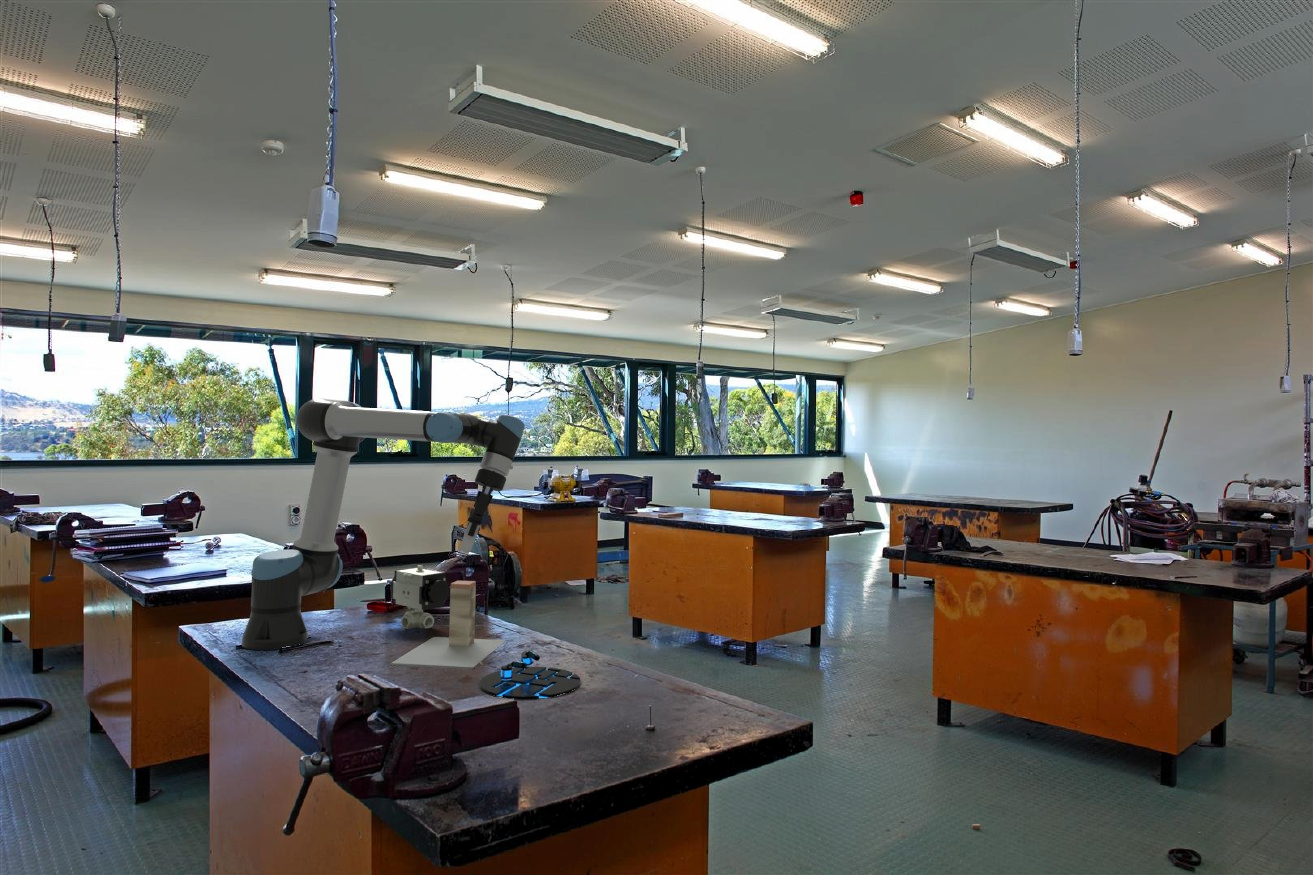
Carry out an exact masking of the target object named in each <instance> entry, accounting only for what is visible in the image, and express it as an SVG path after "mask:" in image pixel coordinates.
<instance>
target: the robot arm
mask: <svg viewBox="0 0 1313 875" xmlns="http://www.w3.org/2000/svg"><path fill="white" fill-rule="evenodd" d="M295 421H296V426H297V430H298V431H299V432H300V434H302V436H304V437H305V438H306V439H308V440H309V441H311V442H312V441H313V442H312V447H314V450H316V458H315V462H314V467H313V472H312V473H313V474H312V479H311V483H310V488H309V489H310V490H309V493H308V499H307V503H306V509H305V515H304V518H303V523H302V529H301V534H300V537H299V538H298V539H295V540H294V541H293V543H292V544H293V545H292V549H278V550H271V551H268V552H267V551H266V552H263V553H261V554H259V555H257V556H256V557H255V558H254V559H253V562H252V567H251V568H252V569H251V573H250V574H251V589H250V590H251V591H250V592H251V595H250V614H249V619H248V621H247V624H246V626H245V628H244V632H243V634H242V638H241V647H242V648H243V649H245V650H246V649H247V650H253V651H272V650H274V651H275V650H281V649H280V648H282V647H286V646H294V647H296V646H295V645H298V646H300V645H299V644H301V645H303V644H305V643H307V642H308V630H307V627H306V625H305V621H304V617H303V615H302V610H301V609H302V597H305V596H308V595H312V594H317V593H321V592H323V591H326V590H327V589H330V588H332V587H333V586H334V585H336V584H337V582H338V581H339V579H340V578H341V576H342V573H343V568H344V567H343V559H341V555H340V554H339V553H338V552H339V545H338V544H337V543H336V542H335V538H336V532H337V527H338V522H339V517H340V511H341V507H342V502H343V496H344V491H345V488H346V487H345V486H346V482H347V476H348V471H349V467H350V463H351V462H350V461H351V458H352V457H353V456H355V455H357V453H358V451H359V446H360V443H362V442H363V441H364V440H365V439H366V438H370V439H385V440H401V441H402V440H403V441H419V442H432V443H440V444H467V445H468V444H470V445H473V446H476V447H477V446H478V447H481V448H485V451H484V454H483V457H482V459H481V462H480V465H479V466H480V468H479V469H478V471H477V473H476V476H475V479H474V483H476V484H477V485H478V486H481V487H482V490H478V491H477V494H476V496H475V502H474V504H473V507H474V509H473V511H472V512H473V513H472V514H471V517H470V516H468V518H467V520H466V521H467V522H468V524H467V527H466V529H465V532H464V535H463V538H462V540H461V543H460V545H459V548H458V552H460V553H463V554H466V555H469V554H470V552H471V551H472V548H473V546H474V543H475V540H476V537H477V535H478V532H480V531H481V527H480V525H481V524H482V522H483V519H484V515H485V512H486V511H487V509H488V508H489V507H490V506H489V505H490V504H491V502H492V501H493V499H494V495H493V494H492V493H493V492H494V491H495V492H502V491H503V490H504V487H505V485H506V481H507V478H506V477H507V476H508V475H509V472H510V470H513V469H514V465H512V464H513V462H514V459H515V456H516V455H517V452H518V449H519V446H520V443H521V441H522V438H523V435H524V431H525V428H526V425H525V423H524V421H523V420H521V419H520V418H518V417H515V416H514V415H513V416H512V415H511V414H503V413H502V414H500V415H499V416H498V417H497V419H496V420H492V419H487V418H484V417H480V416H477V415H472V414H470V413H467V412H460V411H458V412H457V411H456V412H454V413H453V412H451V411H426V410H425V411H424V410H408V409H407V410H406V409H392V408H391V409H387V408H372V407H371V408H370V407H363V406H361V405H359V404H358V403H356V402H351V401H349V400H339V399H331V398H330V399H328V398H320V397H319V398H314V399H310V400H308V401H307V402H304V403H303V405H301V407H300V408H299V410H298V411H297V414H296V420H295ZM304 642H305V643H304ZM302 643H303V644H302Z"/></svg>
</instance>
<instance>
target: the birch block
mask: <svg viewBox="0 0 1313 875" xmlns="http://www.w3.org/2000/svg"><path fill="white" fill-rule="evenodd" d="M476 583H477V582H476V580H456V581H454V582H451V583H450V588H449V595H450V596H449V598H450V599H449V600H450V601H449V627H448V628H449V630H448V632H449V633H448V634H449V635H448V638H449V646H457V647H468V646H470V645H471V644H473V643H474V639H475V630H476V628H475V626H476V624H475V623H476V594H477V593H476V591H477V589H476V587H477V586H476V585H477V584H476Z"/></svg>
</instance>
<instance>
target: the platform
mask: <svg viewBox="0 0 1313 875" xmlns="http://www.w3.org/2000/svg"><path fill="white" fill-rule="evenodd" d="M520 656H521V658H520V660H521V661H516V660H514V661H511V662H509V663H507V664H506V665H502V666H500V670H497V671H493V672H490V673H487V674H486V675H485V676H483V677H482V678H481V679H480V681H479V689H480V690H481V691H482V692H484V693H486V694H487V695H489V696H493V695H495V696H494V697H496V696H503V697H506V698H505V699H508V698H514V699H513V700H522V701H523V700H524V701H525V700H540V699H539V698H545V699H549V698H548V697H551V698H555V697H554V696H557V695H560V694H563V693H567V694H570V693H572V692H573V691H572V690H574V689H576V688H577V687H578V686H579V685H580V686H581V684H582V683H581V682H582V681H581V678H580V676H579V675H578V674H576V673H574V674H573V672H572V671H570V670H567V669H563V668H558V667H557V668H556V667H548V668H547V667H546V666H532V665H533V664H534V661H536V662H538V661H539V660H540V659H541V656H540V655H539V654H538V653H537V652H535V651H534V650H530V649H528V650H524V651H522V652H521V653H520ZM556 672H558V673H556ZM571 675H572V676H571ZM568 676H571V677H570V678H567V677H568ZM550 685H552V686H550ZM548 686H550V687H548ZM580 686H579V687H580ZM579 687H578V688H579ZM578 688H577V689H578ZM543 689H545V690H543ZM577 689H576V690H577ZM541 690H543V691H541ZM571 691H572V692H571ZM574 691H575V690H574ZM569 692H570V693H569ZM536 693H539V694H537V695H535V694H536ZM557 697H558V696H557Z"/></svg>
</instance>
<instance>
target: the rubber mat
mask: <svg viewBox="0 0 1313 875" xmlns="http://www.w3.org/2000/svg"><path fill="white" fill-rule="evenodd" d="M505 642H506V640H505V639H487V638H485V639H484V638H474V643H473V644H471V645H470V646H468V647H457V646H449V637H445V636H443V637H442V636H433V637H431V638H430V639H428V640H426V641H425V642H423V643H421V644H420V645H418V646H416V647H415V648H413V649H411V650H409V651H408V652H407V653H405V654H404V655H402V656H400V657H398V658H397V659H395V660H394V661H392V662H391V663H390V666H392V667H407V668H408V667H410V668H428V669H429V668H430V669H450V670H451V669H452V670H468V671H469V670H472V671H473V670H474V671H475V669H476V666H477V665H478V664H479V663H481V662H482V661H483V660H485V659H486V658H487V657H488V656H489V655H490V654H491V653H493V652H494V651H495V650H496V649H497V648H499V647H501V645H502V644H503V643H505Z"/></svg>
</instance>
